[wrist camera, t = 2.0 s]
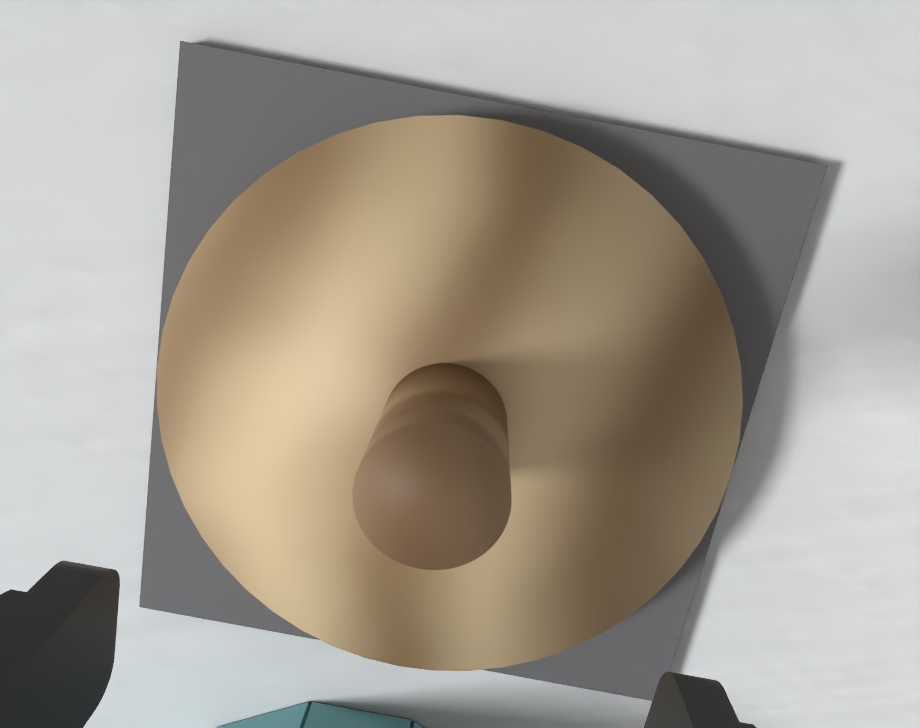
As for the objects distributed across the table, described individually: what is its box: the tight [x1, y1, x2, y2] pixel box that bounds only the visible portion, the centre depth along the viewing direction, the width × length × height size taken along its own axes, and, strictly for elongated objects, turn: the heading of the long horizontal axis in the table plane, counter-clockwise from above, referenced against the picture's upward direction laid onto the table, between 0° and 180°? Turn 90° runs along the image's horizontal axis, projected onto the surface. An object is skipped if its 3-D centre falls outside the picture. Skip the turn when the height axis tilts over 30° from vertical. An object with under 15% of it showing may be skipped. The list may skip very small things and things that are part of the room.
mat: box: [140, 41, 827, 701], centre depth 23 cm, size 18×18×1 cm
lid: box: [157, 115, 743, 671], centre depth 20 cm, size 17×17×6 cm
